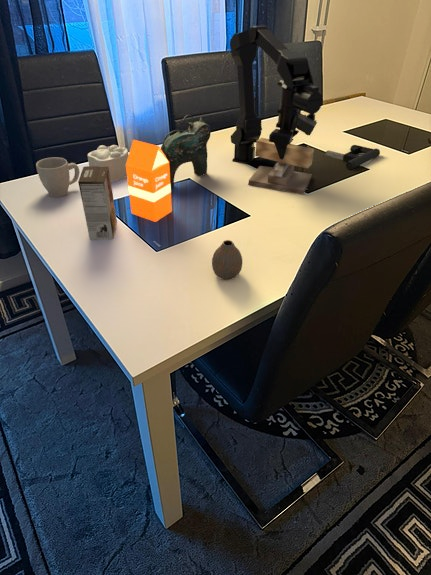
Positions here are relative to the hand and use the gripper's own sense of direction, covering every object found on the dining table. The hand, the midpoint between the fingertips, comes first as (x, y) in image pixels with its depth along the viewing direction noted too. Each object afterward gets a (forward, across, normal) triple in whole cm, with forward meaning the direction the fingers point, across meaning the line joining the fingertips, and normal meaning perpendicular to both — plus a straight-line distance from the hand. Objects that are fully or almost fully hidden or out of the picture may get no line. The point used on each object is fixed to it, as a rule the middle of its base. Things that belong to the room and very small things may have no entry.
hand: (283, 156), depth 132 cm
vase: (+8, -55, -1) cm, 56 cm away
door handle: (+9, +30, -19) cm, 37 cm away
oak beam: (+1, 0, 0) cm, 1 cm away
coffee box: (+8, -49, +36) cm, 61 cm away
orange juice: (+8, -35, +29) cm, 46 cm away
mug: (+9, -34, +60) cm, 69 cm away
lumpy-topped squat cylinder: (+9, -16, +54) cm, 57 cm away
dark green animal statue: (+9, -11, +29) cm, 32 cm away
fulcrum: (+8, 0, 0) cm, 8 cm away
